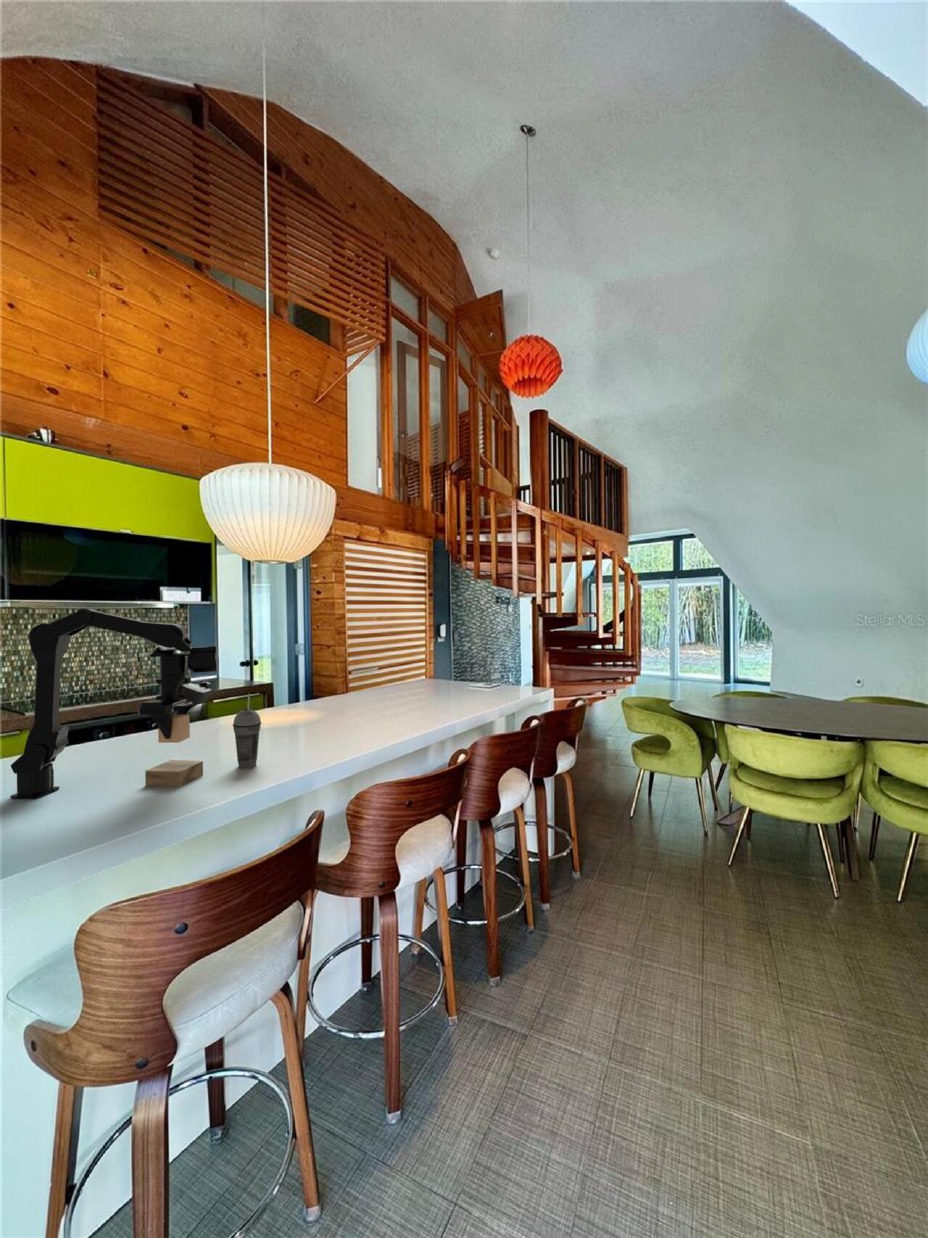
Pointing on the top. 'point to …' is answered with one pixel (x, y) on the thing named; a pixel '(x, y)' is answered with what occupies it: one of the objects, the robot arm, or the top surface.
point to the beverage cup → (247, 736)
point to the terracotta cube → (177, 729)
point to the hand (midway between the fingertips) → (174, 736)
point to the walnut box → (174, 773)
